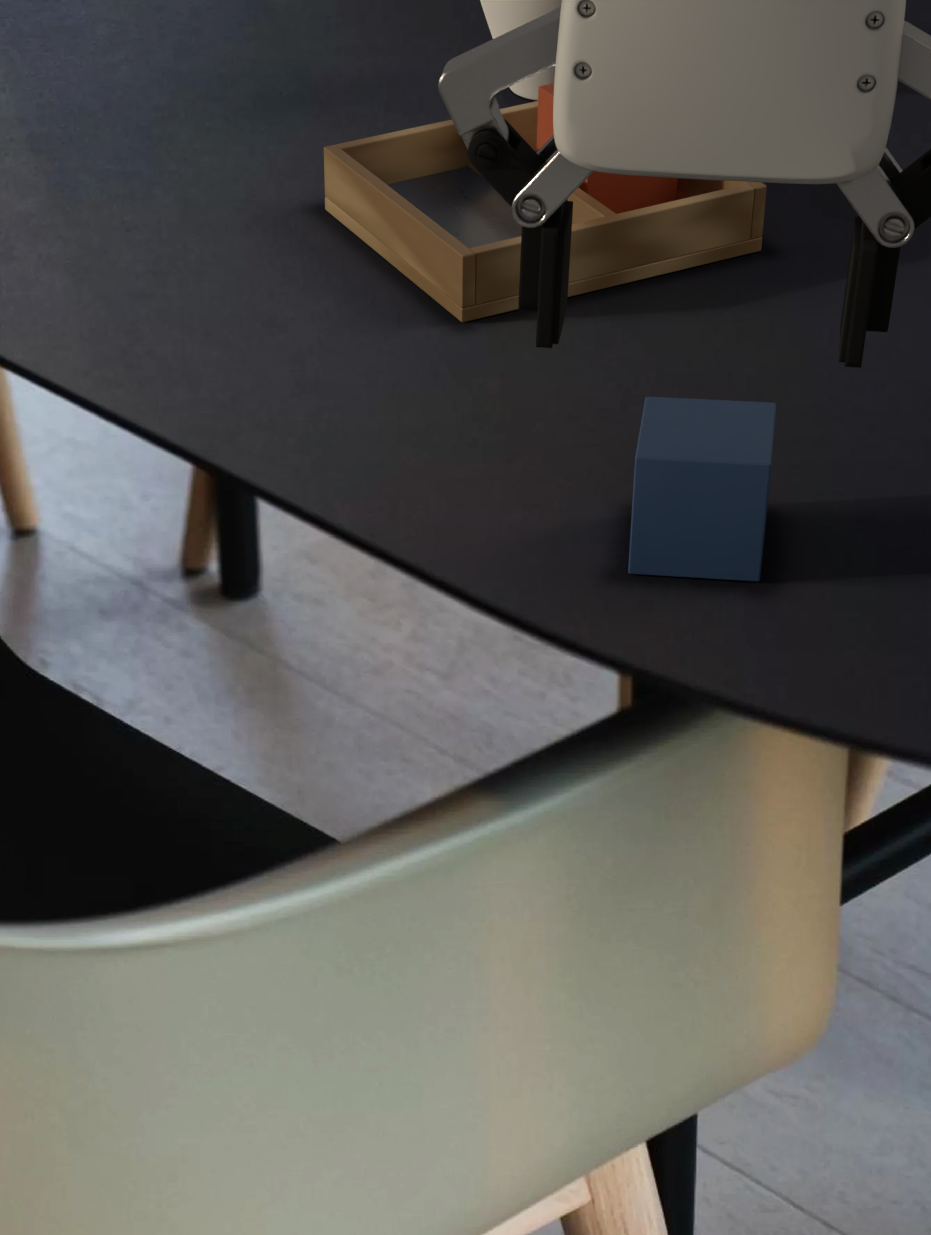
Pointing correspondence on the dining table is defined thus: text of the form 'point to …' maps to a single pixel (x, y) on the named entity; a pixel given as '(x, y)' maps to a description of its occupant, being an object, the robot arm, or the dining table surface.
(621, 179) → the terracotta block
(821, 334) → the dining table surface
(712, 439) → the blue block
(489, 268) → the tray
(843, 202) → the dining table surface
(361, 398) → the dining table surface
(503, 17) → the mug
